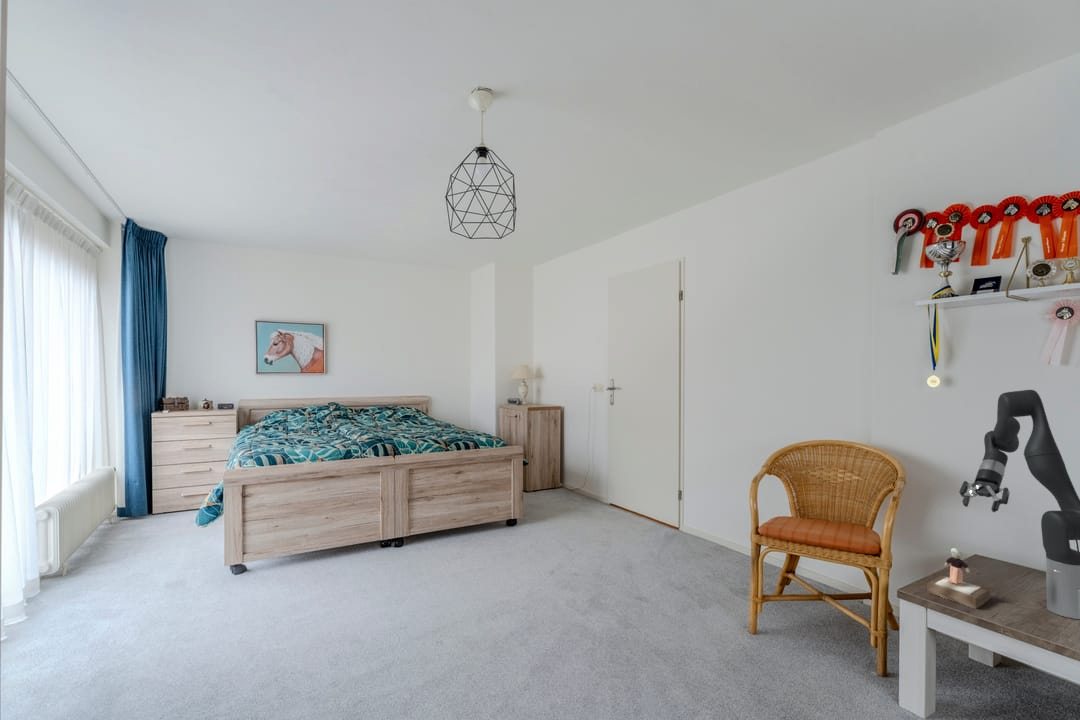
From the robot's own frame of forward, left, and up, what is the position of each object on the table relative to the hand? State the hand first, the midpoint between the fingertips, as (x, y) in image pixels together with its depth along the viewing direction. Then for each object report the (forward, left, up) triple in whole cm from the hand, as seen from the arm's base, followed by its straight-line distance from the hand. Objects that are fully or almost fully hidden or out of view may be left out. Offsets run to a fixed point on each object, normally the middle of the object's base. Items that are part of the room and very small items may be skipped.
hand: (979, 508), depth 197 cm
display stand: (-2, +25, -26) cm, 37 cm away
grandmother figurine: (-2, +25, -23) cm, 34 cm away
